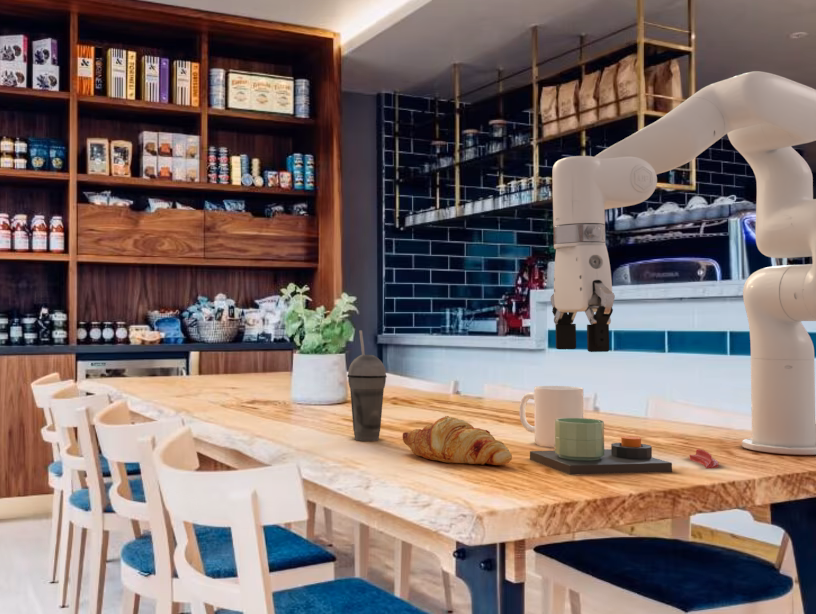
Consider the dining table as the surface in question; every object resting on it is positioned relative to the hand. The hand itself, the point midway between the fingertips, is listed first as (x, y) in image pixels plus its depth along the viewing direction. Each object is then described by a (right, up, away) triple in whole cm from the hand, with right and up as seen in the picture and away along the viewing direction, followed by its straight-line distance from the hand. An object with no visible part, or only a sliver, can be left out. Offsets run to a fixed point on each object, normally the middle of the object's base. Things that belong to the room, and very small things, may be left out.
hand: (581, 350), depth 126 cm
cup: (+1, -19, +21) cm, 28 cm away
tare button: (+8, -15, 0) cm, 17 cm away
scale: (+2, -18, -1) cm, 18 cm away
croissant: (-19, -18, +4) cm, 26 cm away
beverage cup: (-31, -19, +26) cm, 44 cm away
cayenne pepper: (+20, -18, +3) cm, 27 cm away
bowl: (-1, -16, -1) cm, 16 cm away
